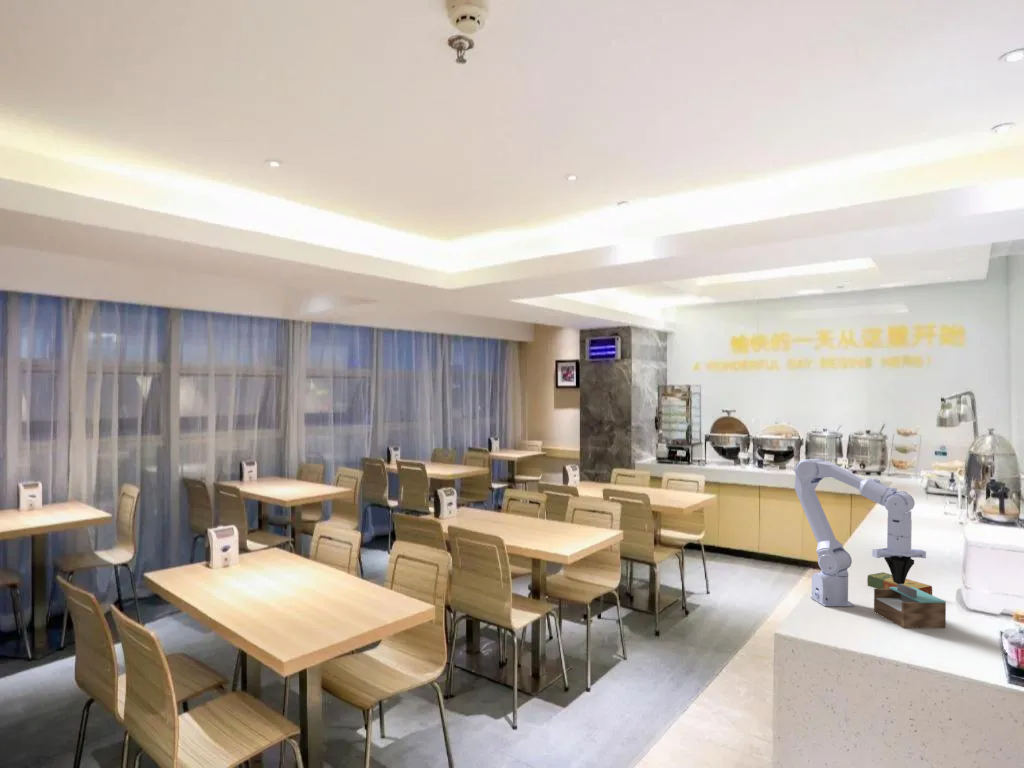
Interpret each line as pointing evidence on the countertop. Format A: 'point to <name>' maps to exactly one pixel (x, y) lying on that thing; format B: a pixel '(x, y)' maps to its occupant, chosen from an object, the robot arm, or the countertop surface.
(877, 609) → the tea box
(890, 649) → the countertop surface
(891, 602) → the lower lid
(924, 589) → the carton
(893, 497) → the robot arm
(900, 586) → the upper lid
